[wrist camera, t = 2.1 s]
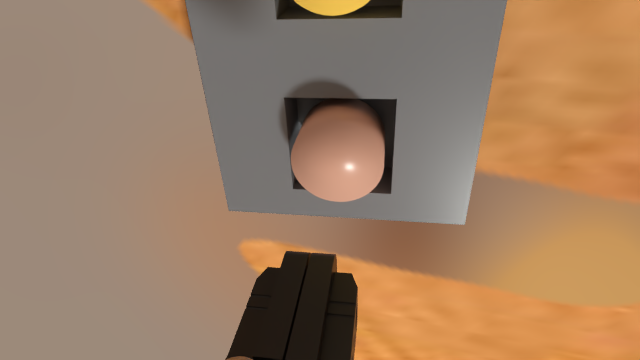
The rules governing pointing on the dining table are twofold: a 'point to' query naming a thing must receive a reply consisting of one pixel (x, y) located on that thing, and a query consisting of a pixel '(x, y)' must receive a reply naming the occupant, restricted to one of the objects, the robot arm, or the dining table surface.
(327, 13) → the amber button
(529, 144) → the dining table surface
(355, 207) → the button console
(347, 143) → the terracotta button
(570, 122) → the dining table surface
